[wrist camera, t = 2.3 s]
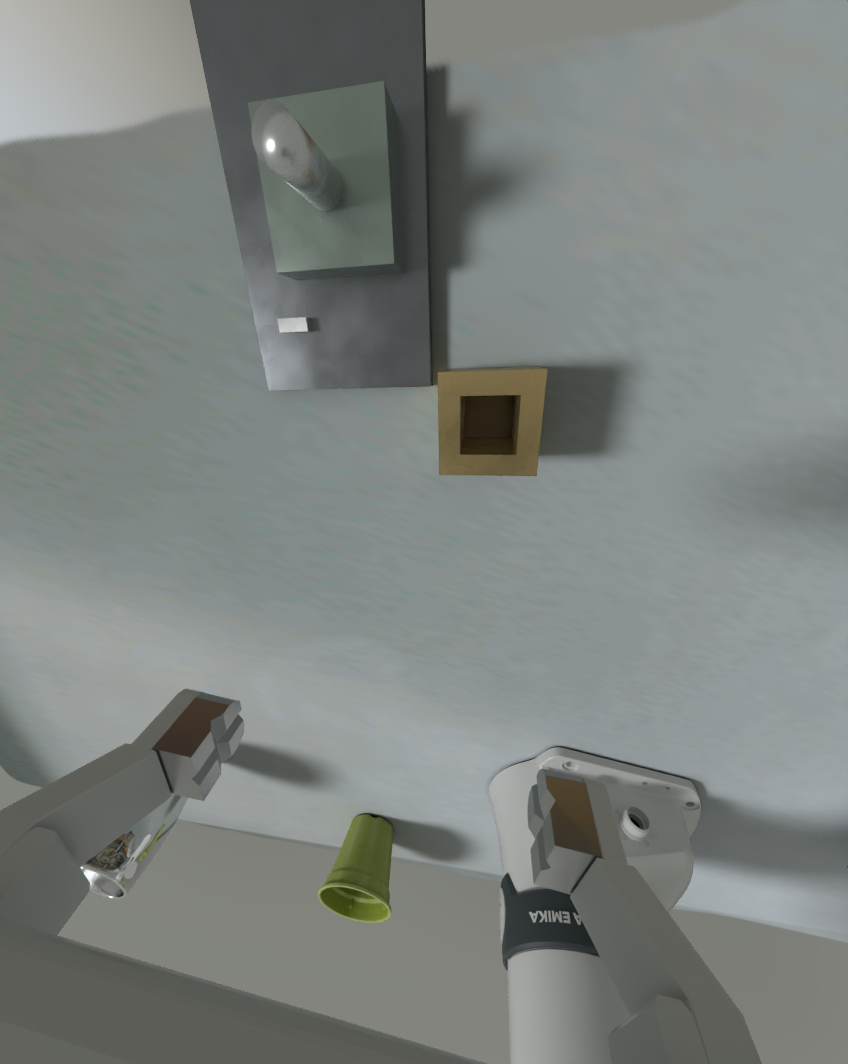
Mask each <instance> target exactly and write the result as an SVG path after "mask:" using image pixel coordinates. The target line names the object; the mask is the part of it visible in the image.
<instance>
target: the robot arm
mask: <svg viewBox="0 0 848 1064" xmlns="http://www.w3.org/2000/svg"><path fill="white" fill-rule="evenodd" d="M240 711H241V705H240V701H237V700H233V699H229V698H224V697H220V696H215V695H211V694H207V693H204V692H199V691H195V690H190V689H184V690H183V691H181V692H179V693H178V694H177V695H176V696H175V697H174V698H173V699H172V700H171V701H170V703H169V704H168V705H167V706H166V707H165V708H164V709H163V710H162V711H161V712H160V713H159V715H158V716H157V717H156V718H155V719H154V720H153V721H152V722H151V723H150V724H149V725H148V727H147V728H146V729H145V730H144V731H143V732H142V733H141V734H140V735H139V736H138V737H137V739H136V740H135V741H134V742H133V743H132V744H124V745H122V746H120V747H118V748H116V749H114V750H112V751H111V752H109V753H107V754H105V755H103V756H101V757H99V758H98V759H96V760H94V761H92V762H90V763H88V764H86V765H84V766H83V767H81V768H79V769H77V770H75V771H73V772H71V773H70V774H68V775H66V776H64V777H62V778H60V779H58V780H56V781H55V782H53V783H51V784H49V785H47V786H45V787H43V788H42V789H40V790H38V791H36V792H34V793H32V794H30V795H29V796H27V797H25V798H23V799H21V800H19V801H17V802H16V803H14V804H12V805H10V806H8V807H6V808H4V809H3V810H1V811H0V1064H487V1063H484V1062H480V1061H477V1060H473V1059H470V1058H467V1057H464V1056H460V1055H457V1054H453V1053H450V1052H447V1051H443V1050H440V1049H437V1048H433V1047H430V1046H426V1045H423V1044H420V1043H416V1042H413V1041H410V1040H406V1039H403V1038H399V1037H396V1036H393V1035H390V1034H386V1033H383V1032H380V1031H376V1030H373V1029H370V1028H366V1027H363V1026H359V1025H356V1024H353V1023H349V1022H345V1021H343V1020H339V1019H336V1018H332V1017H329V1016H326V1015H322V1014H319V1013H316V1012H312V1011H309V1010H306V1009H302V1008H299V1007H296V1006H292V1005H289V1004H286V1003H282V1002H279V1001H276V1000H272V999H268V998H265V997H262V996H258V995H255V994H252V993H249V992H245V991H242V990H239V989H235V988H232V987H229V986H225V985H222V984H218V983H215V982H212V981H208V980H205V979H202V978H198V977H195V976H192V975H188V974H185V973H181V972H178V971H175V970H172V969H168V968H165V967H161V966H158V965H154V964H151V963H148V962H144V961H141V960H138V959H134V958H131V957H128V956H125V955H121V954H118V953H114V952H111V951H107V950H104V949H101V948H98V947H94V946H91V945H88V944H84V943H81V942H77V941H74V940H71V939H67V938H64V937H60V936H57V935H58V933H59V932H60V931H61V929H62V928H63V927H64V925H65V924H66V922H67V921H68V920H69V918H70V917H71V916H72V914H73V913H74V911H75V910H76V909H77V907H78V906H79V905H80V903H81V902H82V900H83V899H84V898H85V896H86V895H87V894H88V892H89V890H90V882H89V881H88V879H87V878H86V876H85V875H84V873H83V872H82V870H81V869H80V867H81V866H82V865H83V864H85V863H86V862H87V861H89V860H90V859H91V858H92V857H94V856H95V855H96V854H98V853H99V852H100V851H102V850H103V849H104V848H105V847H107V846H108V845H109V844H111V843H112V842H113V841H115V840H116V839H117V838H118V837H120V836H121V835H122V834H124V833H125V832H126V831H128V830H129V829H130V828H131V827H133V826H134V825H135V824H137V823H138V822H139V821H141V820H142V819H143V818H144V817H146V816H147V815H148V814H150V813H151V812H152V811H154V810H155V809H156V808H157V807H159V806H160V805H161V804H163V803H164V802H165V801H167V800H168V799H169V798H170V797H172V794H174V795H179V796H183V797H188V798H193V799H197V800H202V801H204V800H205V798H206V796H207V795H208V793H209V792H210V790H211V789H212V787H213V786H214V784H215V782H216V781H217V779H218V778H219V776H220V775H221V764H222V763H223V762H225V761H226V760H228V759H229V758H231V757H232V756H233V754H234V752H235V751H236V749H237V747H238V746H239V743H240V741H241V738H242V736H243V731H244V721H243V719H242V718H241V717H240V716H239V715H238V714H239V712H240ZM489 799H490V802H491V806H492V810H493V814H494V818H495V823H496V828H497V835H498V841H499V848H500V856H501V865H502V875H503V879H502V882H501V888H500V936H501V944H502V955H503V964H504V966H505V968H506V969H507V971H508V993H509V1024H510V1025H509V1026H510V1058H511V1059H510V1060H511V1064H762V1063H761V1061H760V1058H759V1055H758V1053H757V1050H756V1048H755V1045H754V1043H753V1040H752V1037H751V1035H750V1032H749V1030H748V1027H747V1025H746V1022H745V1019H744V1017H743V1014H742V1013H741V1012H740V1010H739V1009H738V1008H737V1006H736V1005H735V1004H734V1002H733V1001H732V999H731V998H730V997H729V995H728V994H727V993H726V991H725V990H724V988H723V987H722V986H721V984H720V983H719V981H718V980H717V979H716V977H715V976H714V975H713V973H712V972H711V971H710V969H709V968H708V966H707V965H706V964H705V962H704V961H703V960H702V958H701V957H700V955H699V954H698V953H697V951H696V950H695V949H694V947H693V946H692V944H691V943H690V942H689V940H688V939H687V938H686V936H685V935H684V933H683V932H682V931H681V929H680V928H679V927H678V925H677V924H676V923H675V921H674V920H673V918H672V917H671V916H670V914H669V912H670V910H671V909H672V908H673V907H674V905H675V904H676V903H677V902H678V900H679V899H680V898H681V897H682V895H683V894H684V892H685V891H686V889H687V887H688V885H689V883H690V881H691V878H692V873H693V852H692V845H691V841H690V837H691V835H692V834H693V832H694V831H695V829H696V827H697V824H698V822H699V819H700V814H701V802H700V798H699V796H698V793H697V790H696V788H695V786H694V785H693V783H692V782H691V781H689V780H686V779H683V778H679V777H675V776H671V775H667V774H663V773H660V772H656V771H652V770H648V769H644V768H640V767H636V766H632V765H628V764H624V763H620V762H616V761H612V760H608V759H604V758H600V757H596V756H593V755H589V754H585V753H581V752H577V751H573V750H569V749H565V748H560V747H555V748H551V749H549V750H547V751H545V752H543V753H542V754H541V755H539V756H538V757H536V758H535V759H532V760H529V761H526V762H522V763H518V764H515V765H513V766H510V767H508V768H506V769H504V770H503V771H501V772H500V773H499V774H497V775H496V776H495V778H494V779H493V780H492V782H491V784H490V786H489Z"/></svg>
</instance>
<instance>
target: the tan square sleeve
mask: <svg viewBox="0 0 848 1064" xmlns="http://www.w3.org/2000/svg"><path fill="white" fill-rule="evenodd" d="M547 370H548V369H546V368H541V367H537V366H535V367H504V368H472V369H446V370H443V371H440V372H438V423H439V475H496V476H537V467H538V457H539V448H540V438H541V428H542V419H543V409H544V399H545V390H546V380H547ZM491 395H515V400H514V414H513V428H512V438H465V396H491Z"/></svg>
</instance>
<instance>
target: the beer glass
mask: <svg viewBox="0 0 848 1064" xmlns="http://www.w3.org/2000/svg"><path fill="white" fill-rule="evenodd" d="M187 799H188V797H183V796H179V795H174V794H172V797H170V798H169V799H168V800H167V801H165V802H164V803H163V804H161V805H160V806H159V807H157V808H156V809H155V810H154V811H152V812H151V813H150V814H148V815H147V816H146V817H144V818H143V819H142V820H141V821H139V822H138V823H137V824H135V825H134V826H133V827H131V828H130V829H129V830H128V831H126V832H125V833H124V834H122V835H121V836H120V837H118V838H117V839H116V840H115V841H113V842H112V843H111V844H109V845H108V846H107V847H105V848H104V849H103V850H102V851H100V852H99V853H98V854H96V855H95V856H94V857H92V858H91V859H90V860H89V861H87V862H86V863H85V864H83V865H82V866H81V867H80V869H81V870H82V872H83V873H84V875H85V876H86V878H87V879H88V881H89V882H90V890H89V891H91V892H93V893H95V894H97V895H100V896H103V897H106V898H111V899H123V898H125V897H126V896H127V894H128V893H129V891H130V890H131V888H132V887H133V886H134V884H135V883H136V882H137V880H138V879H139V878H140V876H141V875H142V874H143V872H144V871H145V870H146V868H147V867H148V866H149V864H150V863H151V861H152V860H153V859H154V857H155V856H156V854H157V853H158V851H159V850H160V848H161V847H162V845H163V843H164V842H165V841H166V839H167V837H168V836H169V834H170V832H171V830H172V828H173V827H174V825H175V823H176V821H177V819H178V817H179V815H180V813H181V811H182V809H183V807H184V805H185V803H186V801H187Z"/></svg>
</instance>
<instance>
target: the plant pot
mask: <svg viewBox="0 0 848 1064" xmlns="http://www.w3.org/2000/svg"><path fill="white" fill-rule="evenodd" d="M392 843H393V828H392V826H391V825H390V824H389V823H388V822H387V821H386V820H384V819H383V818H380V817H378V818H373V817H371V816H370V815H369V814H362V815H358V816H356V817H355V818H354V819H353V821H352V823H351V825H350V828H349V830H348V833H347V835H346V838H345V840H344V843H343V845H342V847H341V850H340V852H339V855H338V857H337V860H336V862H335V864H334V867H333V869H332V871H331V873H330V874H329V876H328V877H327V880H326V882H325V884H324V885H323V886H322V887H321V888H320V889H319V892H318V898H319V900H320V901H321V903H322V904H323V905H324V906H325V907H327V908H328V909H329V910H331V911H332V912H334V913H337V914H338V915H341V916H343V917H345V918H348V919H352V920H355V921H360V922H368V923H377V922H383V921H386V920H387V919H389V917H390V915H391V906H390V905H389V899H390V893H389V878H390V864H391V853H392Z"/></svg>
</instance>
